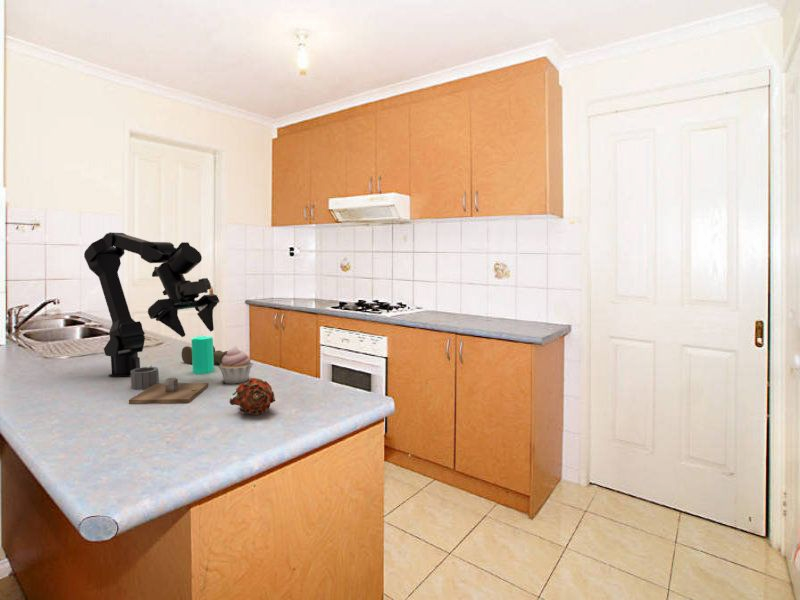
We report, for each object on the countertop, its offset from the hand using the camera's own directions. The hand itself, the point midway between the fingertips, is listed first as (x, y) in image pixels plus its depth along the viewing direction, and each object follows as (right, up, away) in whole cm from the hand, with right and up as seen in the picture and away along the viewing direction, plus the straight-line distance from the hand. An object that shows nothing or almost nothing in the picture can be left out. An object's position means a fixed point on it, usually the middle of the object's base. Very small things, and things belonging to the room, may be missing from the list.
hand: (198, 333), depth 123 cm
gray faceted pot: (-16, -15, +3) cm, 22 cm away
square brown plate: (-5, -15, -5) cm, 17 cm away
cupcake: (+7, -14, +8) cm, 18 cm away
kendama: (-10, -12, +30) cm, 34 cm away
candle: (-6, -13, +18) cm, 23 cm away
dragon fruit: (+20, -17, -17) cm, 31 cm away
